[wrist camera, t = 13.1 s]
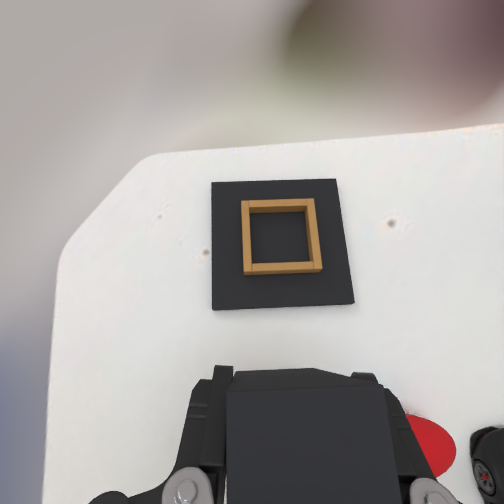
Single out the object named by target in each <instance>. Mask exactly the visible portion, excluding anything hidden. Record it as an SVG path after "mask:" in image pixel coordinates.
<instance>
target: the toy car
mask: <svg viewBox="0 0 504 504" xmlns="http://www.w3.org/2000/svg"><path fill="white" fill-rule="evenodd" d="M471 458H477V459H480V460H479V461H475V462H474V464H473V471H474V475H475V478H476V480H477V482H478V483H479V485H480V486H481V487H478V488H479V490H480V492H481V494H482V496H483V498H484V500H485V504H504V429H498V428H495V427H488V428H485V429H482V430H479V431H477V432H475V433H474V434H473V435H472V438H471Z"/></svg>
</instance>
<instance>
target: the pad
mask: <svg viewBox="0 0 504 504" xmlns="http://www.w3.org/2000/svg"><path fill="white" fill-rule="evenodd" d="M353 303H355V301H354V294H353V288H352V281H351V275H350V268H349V261H348V255H347V248H346V242H345V235H344V228H343V222H342V215H341V209H340V202H339V195H338V189H337V182H336V179H304V180H271V181H237V182H212V309H213V310H232V309H255V308H278V307H301V306H323V305H346V304H353Z"/></svg>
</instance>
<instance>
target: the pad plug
mask: <svg viewBox="0 0 504 504" xmlns="http://www.w3.org/2000/svg"><path fill="white" fill-rule="evenodd" d="M226 476H227V504H402V498H401V492H400V486H399V480H398V474H397V468H396V461H395V455H394V449H393V443H392V437H391V430H390V424H389V418H388V412H387V406H386V400H385V393H384V387H383V385H381V384H378V383H373V382H369V381H365V380H361V379H357V378H352V377H348V376H344V375H340V374H336V373H332V372H327V371H323V370H319V369H315V368H301V369H278V370H255V371H236V372H235V374H234V377H233V380H232V383H230V385H229V387H228V389H227V392H226Z"/></svg>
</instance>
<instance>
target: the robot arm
mask: <svg viewBox="0 0 504 504" xmlns="http://www.w3.org/2000/svg"><path fill="white" fill-rule="evenodd" d="M351 377H352V378H357V379H361V380H365V381H369V382H373V383H378V381H377V379H376V377H375V375H374V374H373V373H360V372H353V373H352V375H351ZM232 380H233V366H222V365H215V367H214V373H213V379H212V380H207V379H200V380H199V382H198V383H197V384H196V386H195V387H194V389H193V390H192V393H191V398H190V402H189V407H188V411H187V415H186V420H185V424H184V429H183V433H182V437H181V442H180V446H179V451H178V455H177V459H176V463H175V466H174V468H173V470H172V472H171V474H170V475H169V476H168V478H167V479H166V480H165V481H164V482H163V483H162V484H160V485H159V486H158V487H156V488H154V489H152V490H149V491H147V492H144V493H141V494H138V495H135V496H132V497H129V498H128V497H127V496H126V495H125V494H123V493H121V492H118V491H109V492H105V493H103V494H101V495H99V496H97V497H96V498H94V499H93V500H92V501H91V502H90V503H89V504H224V493H225V481H226V392H227V389H228V387H229V385H230V383H232ZM384 393H385V400H386V406H387V412H388V418H389V424H390V430H391V437H392V443H393V449H394V455H395V461H396V468H397V474H398V480H399V486H400V492H401V498H402V504H462V503H461V502H459V501H457V500H456V498H455V497H454V496H453V495H452V493H451V492H450V491H449V490H448V489H447V488H445V487H444V486H443V485H441V484H440V483H439V482H438V481H437V479H436V478H435V476H434V474H433V472H432V470H431V468H430V466H429V463H428V461H427V459H426V457H425V455H424V453H423V451H422V449H421V446H420V444H419V442H418V440H417V438H416V436H415V434H414V432H413V430H412V429H411V425H410V423H409V421H408V419H407V418H406V414H405V412H404V410H403V408H402V406H401V404H400V402H399V400H398V399H397V398H396V397H395V396H394V395H393V394H392V392H391V391H390V390H389V389H387V388H384Z"/></svg>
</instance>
